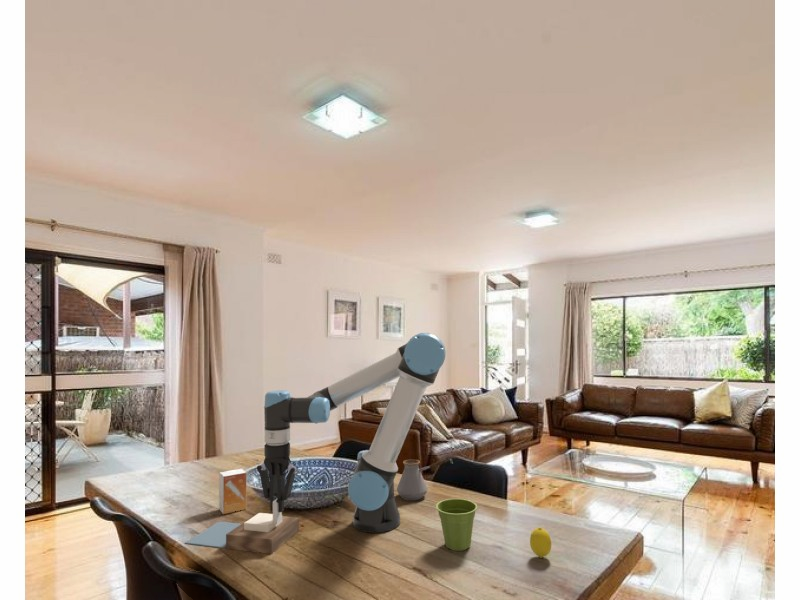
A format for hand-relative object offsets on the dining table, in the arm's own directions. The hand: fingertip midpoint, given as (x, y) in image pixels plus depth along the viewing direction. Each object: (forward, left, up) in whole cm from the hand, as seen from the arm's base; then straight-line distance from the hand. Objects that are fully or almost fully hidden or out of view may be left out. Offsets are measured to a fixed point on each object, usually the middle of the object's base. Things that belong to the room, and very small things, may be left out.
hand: (277, 522), depth 143 cm
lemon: (-76, -7, -6) cm, 76 cm away
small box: (+29, -19, -6) cm, 35 cm away
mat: (+20, 0, -5) cm, 20 cm away
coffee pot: (-35, -45, -6) cm, 57 cm away
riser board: (+5, 0, -5) cm, 7 cm away
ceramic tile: (+5, 0, -1) cm, 5 cm away
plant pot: (-53, -9, -6) cm, 54 cm away
